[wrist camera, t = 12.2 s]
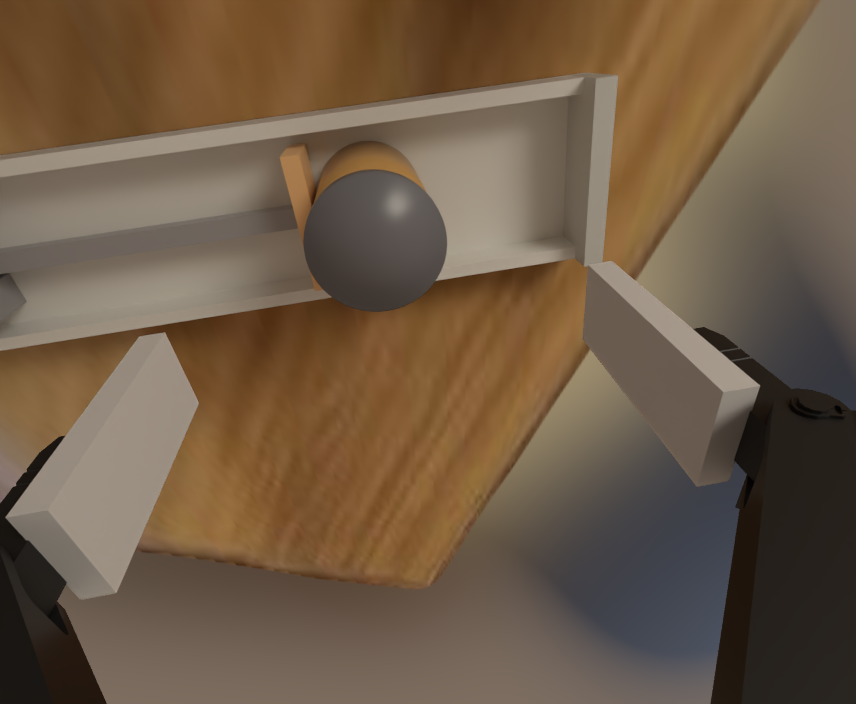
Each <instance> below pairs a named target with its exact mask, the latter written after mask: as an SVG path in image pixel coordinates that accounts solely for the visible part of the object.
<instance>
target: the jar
mask: <svg viewBox="0 0 856 704" xmlns="http://www.w3.org/2000/svg"><path fill="white" fill-rule="evenodd" d="M303 244H304V253H305V259H306V262H307V265H308V267H309V270H310V272H311V274H312V276H313V277H314V279H315V280H316V282H317V283H318V284H319V285H320V287H321V288H322V289H323V290H324V291H325V292H326V293H327V294H329V295H330V296H331V297H332V298H334V299H335V300H337V301H339V302H340V303H342V304H344V305H346V306H349V307H352V308H355V309H359V310H363V311H372V312H380V311H389V310H394V309H397V308H400V307H403V306H406V305H408V304H410V303H412V302H413V301H415V300H416V299H418V298H420V297H421V296H422V295H423V294H424V293H425V292H427V290H428V289H429V288H430V287H431V286H432V285H433V284H434V282H435V281H436V279H437V278H438V276H439V274H440V272H441V270H442V267H443V265H444V262H445V258H446V252H447V234H446V228H445V225H444V221H443V218H442V216H441V214H440V212H439V210H438V208H437V206H436V205H435V203H434V201H433V200H432V198H431V197H430V196H429V195H428V194H427V192H426V190H425V188H424V186H423V184H422V182H421V181H420V179H419V177H418V175H417V173H416V171H415V169H414V167H413V166H412V164H411V163H410V161H409V160H408V159H407V158H406V157H405V156H404V155H403V154H402V153H401V152H400V151H398V150H397V149H395V148H393V147H392V146H390V145H387V144H385V143H381V142H377V141H360V142H355V143H352V144H349V145H347V146H345V147H343V148H342V149H340V150H339V151H337V152H336V153H335V154H334V155H333V156H332V157H331V158H330V160H329V161H328V162H327V164H326V166H325V167H324V169H323V172H322V174H321V178H320V182H319V185H318V189H317V193H316V197H315V200H314V204H313V206H312V207H311V210H310V212H309V215H308V218H307V221H306V225H305V229H304V238H303Z"/></svg>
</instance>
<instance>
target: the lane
mask: <svg viewBox="0 0 856 704" xmlns="http://www.w3.org/2000/svg"><path fill="white" fill-rule="evenodd" d="M617 82H618V75H608V74H596V73H579V74H572V75H565V76H558V77H551V78H544V79H537V80H530V81H523V82H516V83H508V84H501V85H494V86H487V87H480V88H473V89H466V90H459V91H452V92H445V93H438V94H431V95H424V96H417V97H410V98H402V99H395V100H388V101H381V102H374V103H367V104H360V105H353V106H346V107H339V108H332V109H325V110H318V111H311V112H304V113H296V114H289V115H282V116H275V117H268V118H261V119H254V120H247V121H240V122H233V123H226V124H219V125H212V126H205V127H198V128H190V129H183V130H176V131H169V132H162V133H155V134H148V135H141V136H134V137H127V138H120V139H113V140H106V141H99V142H92V143H84V144H77V145H70V146H63V147H56V148H49V149H42V150H35V151H28V152H21V153H14V154H7V155H0V248H7V247H14V246H20V245H27V244H33V243H40V242H47V241H53V240H60V239H67V238H73V237H80V236H87V235H93V234H100V233H106V232H113V231H120V230H126V229H133V228H140V227H146V226H153V225H160V224H166V223H173V222H179V221H186V220H193V219H199V218H206V217H213V216H219V215H226V214H233V213H239V212H246V211H252V210H259V209H266V208H272V207H279V206H286V205H292V202H291V199H290V195H289V191H288V187H287V184H286V180H285V176H284V172H283V168H282V165H281V161H280V156H281V155H282V153H283V152H284V151H285V149H286V148H287V146H288V145H293V144H300V143H306V147H307V151H308V155H309V160H310V164H311V168H312V172H313V177H314V181H315V185H316V189H318V185H319V182H320V178H321V174H322V172H323V169H324V167H325V166H326V164H327V162H328V161H329V160H330V158H331V157H332V156H333V155H334V154H335V153H336V152H337V151H339V150H340V149H342V148H343V147H345V146H347V145H349V144H352V143H355V142H360V141H377V142H381V143H385V144H387V145H390V146H392V147H393V148H395V149H397V150H398V151H400V152H401V153H402V154H403V155H404V156H405V157H406V158H407V159H408V160H409V161H410V163H411V164H412V166H413V167H414V169H415V171H416V173H417V175H418V177H419V179H420V181H421V182H422V184H423V186H424V188H425V190H426V192H427V194H428V195H429V196H430V197H431V198H432V200H433V201H434V203H435V205H436V206H437V208H438V210H439V212H440V214H441V216H442V218H443V221H444V225H445V228H446V234H447V252H446V258H445V262H444V265H443V267H442V270H441V272H440V274H439V276H438V278H437V279H436V281H438V280H444V279H450V278H456V277H462V276H469V275H475V274H481V273H487V272H493V271H500V270H506V269H512V268H518V267H525V266H531V265H537V264H543V263H549V262H556V261H562V260H568V259H574V258H575V259H576V260H577V261H578V262H580V263H581V264H582V265H583V266H584V267H586V266H588V265H590V264H596V263H602V260H603V248H604V236H605V225H606V213H607V201H608V189H609V177H610V165H611V153H612V142H613V130H614V118H615V106H616V94H617ZM326 298H332V297H331V296H330V295H329V294H327V293H326V292H325V291H324V290H319V291H315V289H314V286H313V282H312V278H311V274H310V271H309V267H308V265H307V262H306V259H305V253H304V248H303V244H302V240H301V236H300V233H299V229H291V230H285V231H278V232H272V233H265V234H259V235H252V236H245V237H239V238H232V239H226V240H219V241H213V242H206V243H200V244H193V245H187V246H180V247H174V248H167V249H161V250H154V251H148V252H141V253H135V254H128V255H122V256H115V257H108V258H102V259H95V260H89V261H82V262H76V263H69V264H63V265H56V266H50V267H43V268H37V269H30V270H24V271H17V272H11V273H4V274H0V351H2V350H9V349H15V348H21V347H27V346H34V345H40V344H46V343H52V342H58V341H65V340H71V339H77V338H83V337H89V336H96V335H102V334H108V333H114V332H121V331H127V330H133V329H139V328H145V327H152V326H158V325H164V324H170V323H176V322H183V321H189V320H195V319H201V318H208V317H214V316H220V315H226V314H232V313H239V312H245V311H251V310H257V309H264V308H270V307H276V306H282V305H288V304H295V303H301V302H307V301H313V300H319V299H326Z"/></svg>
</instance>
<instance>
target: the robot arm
mask: <svg viewBox="0 0 856 704" xmlns="http://www.w3.org/2000/svg"><path fill="white" fill-rule="evenodd" d="M583 340H584V342H585V343H586V344H587V345H588V347H589V348H590V349H591V351H592V352H593V353H594V354H595V356H596V357H597V358H598V360H599V361H600V362H601V363H602V365H603V366H604V367H605V369H606V370H607V371H608V372H609V373H610V375H611V376H612V378H613V379H614V380H615V381H616V383H617V384H618V385H619V386H620V388H621V389H622V390H623V392H624V393H625V394H626V396H627V397H628V398H629V399H630V401H631V402H632V403H633V405H634V406H635V407H636V409H637V410H638V411H639V412H640V414H641V415H642V416H643V418H644V419H645V420H646V421H647V423H648V424H649V425H650V427H651V428H652V429H653V431H654V432H655V433H656V434H657V436H658V437H659V438H660V440H661V441H662V442H663V443H664V445H665V446H666V447H667V449H668V450H669V451H670V452H671V454H672V455H673V456H674V458H675V459H676V460H677V462H678V463H679V464H680V465H681V467H682V468H683V469H684V471H685V472H686V473H687V474H688V476H689V477H690V478H691V479H692V481H693V482H694V483H695V485H696V486H703V485H708V484H714V483H719V482H724V481H729V479H730V476H731V473H732V470H733V467H734V464H735V462H736V463H737V464H738V465H739V466H740V467H741V468H742V469H743V470H744V471H745V473H746V474H747V476H746V479H745V481H744V484H743V487H742V490H741V493H740V496H739V498H738V501H737V504H736V508H739V509H740V510H739V517H738V524H737V530H736V537H735V544H734V550H733V558H732V564H731V571H730V577H729V584H728V590H727V598H726V604H725V610H724V617H723V624H722V631H721V637H720V644H719V651H718V658H717V664H716V671H715V677H714V685H713V691H712V698H711V704H856V411H852V410H850V409H849V408H848V407H847V406H845V405H844V404H843V403H842V402H841V401H839V400H837V399H835V398H833V397H831V396H829V395H827V394H823V393H820V392H816V391H813V390H807V389H791V388H789V387H788V386H787V385H786V384H784V383H783V382H782V381H781V380H779V379H778V378H777V377H775V376H774V375H773V374H772V373H770V372H769V371H768V370H767V369H765V368H764V367H763V366H761V365H760V364H759V363H758V362H756V361H755V360H754V359H750V356H749V355H748V354H746V353H745V352H744V351H743V350H741V349H738V347H737V346H736V345H735V344H734V343H732V342H731V341H730V340H729V339H727V338H726V337H725V336H723V335H721V334H719V333H716V332H714V331H711V330H709V329H707V328H705V327H702V328H696V329H692V328H691V327H690V326H689V325H687V324H686V323H685V322H684V321H683V320H681V319H680V318H679V317H678V316H677V315H675V314H674V313H673V312H672V311H671V310H669V309H668V308H667V307H666V306H665V305H664V304H662V303H661V302H660V301H659V300H658V299H656V298H655V297H654V296H653V295H651V294H650V293H649V292H648V291H647V290H645V288H643V287H642V286H641V285H640V284H639V283H637V282H636V281H635V280H634V279H633V278H631V277H630V276H629V275H628V274H627V273H626V272H624V271H623V270H622V269H621V268H620V267H618V266H617V265H616V264H615V263H614V262H612V261H608V262H602V263H596V264H590V265H588V273H587V286H586V300H585V314H584V327H583ZM198 404H199V402H198V400H197V398H196V396H195V394H194V392H193V390H192V388H191V386H190V384H189V381H188V379H187V377H186V375H185V373H184V371H183V369H182V367H181V365H180V363H179V361H178V359H177V356H176V354H175V352H174V350H173V348H172V346H171V344H170V342H169V340H168V338H167V336H166V334H165V332H164V333H158V334H152V335H145V336H139V337H138V339H137V340H136V341H135V343H134V344H133V346H132V347H131V348H130V350H129V351H128V352H127V354H126V355H125V356H124V358H123V359H122V360H121V362H120V363H119V364H118V366H117V367H116V369H115V370H114V371H113V373H112V374H111V375H110V377H109V378H108V379H107V381H106V382H105V383H104V385H103V386H102V387H101V389H100V390H99V392H98V393H97V394H96V396H95V397H94V398H93V400H92V401H91V402H90V404H89V405H88V406H87V408H86V409H85V410H84V412H83V413H82V415H81V416H80V417H79V419H78V420H77V421H76V423H75V424H74V425H73V427H72V428H71V429H70V431H69V432H68V433H67V435H66V436H61V437H58V438H57V439H56V440H55V441H53V442H52V443H51V444H50V445H48V446H47V447H46V448H45V449H44V450H42V451H41V452H40V453H39V454H38V455H37V457H36V458H35V459H34V461H33V462H32V463H31V464H30V466H29V467H28V468H27V472H26V473H24V474H23V475H22V476H21V477H20V479H19V480H18V481H17V483H16V486H15V487H13V488H12V489H11V490H10V492H9V493H8V494H7V496H6V497H5V498H4V499H3V501H2V502H1V503H0V704H106V701H105V699H104V696H103V694H102V692H101V690H100V688H99V685H98V683H97V681H96V678H95V676H94V674H93V672H92V669H91V667H90V665H89V663H88V660H87V658H86V656H85V654H84V651H83V649H82V647H81V644H80V642H79V640H78V638H77V635H76V633H75V631H74V629H73V626H72V624H71V622H70V620H69V617H68V615H67V613H66V611H65V609H64V608H63V607H62V606H61V605H60V604H59V603H58V602H57V600H58V598H59V596H60V595H61V593H62V591H63V589H64V587H65V585H66V584H67V585H68V586H69V587H70V589H71V590H72V591H73V592H74V593H75V594H76V595H77V596H78V597H79V599H87V598H92V597H97V596H102V595H108V594H114V593H117V590H118V588H119V586H120V584H121V581H122V579H123V577H124V574H125V572H126V570H127V567H128V565H129V563H130V560H131V558H132V556H133V554H134V551H135V549H136V547H137V544H138V542H139V540H140V538H141V535H142V533H143V531H144V528H145V526H146V524H147V521H148V519H149V517H150V515H151V512H152V510H153V508H154V505H155V503H156V501H157V498H158V496H159V494H160V492H161V489H162V487H163V485H164V482H165V480H166V478H167V475H168V473H169V471H170V469H171V466H172V464H173V462H174V459H175V457H176V455H177V452H178V450H179V448H180V446H181V443H182V441H183V439H184V436H185V434H186V432H187V429H188V427H189V425H190V423H191V420H192V418H193V416H194V413H195V411H196V409H197V406H198Z"/></svg>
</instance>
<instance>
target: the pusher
mask: <svg viewBox="0 0 856 704" xmlns="http://www.w3.org/2000/svg"><path fill="white" fill-rule="evenodd" d="M280 161H281V165H282V168H283V172H284V176H285V180H286V184H287V187H288V191H289V195H290V199H291V202H292V205H286V206H279V207H272V208H266V209H259V210H252V211H246V212H239V213H233V214H226V215H219V216H213V217H206V218H199V219H193V220H186V221H179V222H173V223H166V224H160V225H153V226H146V227H140V228H133V229H126V230H120V231H113V232H106V233H100V234H93V235H87V236H80V237H73V238H67V239H60V240H53V241H47V242H40V243H33V244H27V245H20V246H14V247H7V248H0V274H4V273H11V272H17V271H24V270H30V269H37V268H43V267H50V266H56V265H63V264H69V263H76V262H82V261H89V260H95V259H102V258H108V257H115V256H122V255H128V254H135V253H141V252H148V251H154V250H161V249H167V248H174V247H180V246H187V245H193V244H200V243H206V242H213V241H219V240H226V239H232V238H239V237H245V236H252V235H259V234H265V233H272V232H278V231H285V230H291V229H299V233H300V236H301V240H302V244H303V238H304V229H305V225H306V221H307V218H308V215H309V212H310V210H311V207H312V206H313V204H314V200H315V197H316V193H317V189H316V185H315V181H314V177H313V172H312V168H311V164H310V160H309V155H308V151H307V147H306V143H300V144H293V145H288V146H287V148H286V149H285V151H284V152H283V153H282V155H281V156H280ZM303 248H304V244H303ZM309 271H310V270H309ZM310 274H311V272H310ZM311 278H312V282H313V286H314V289H315V291H319V290H323V289H322V288H321V287H320V285H319V284H318V283H317V282H316V280H315V279H314V277H313V276H312V274H311Z"/></svg>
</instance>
